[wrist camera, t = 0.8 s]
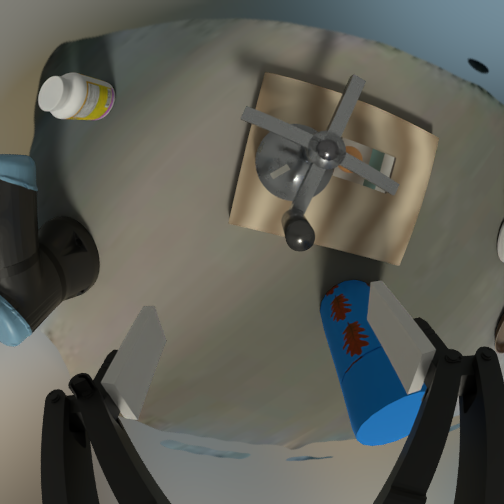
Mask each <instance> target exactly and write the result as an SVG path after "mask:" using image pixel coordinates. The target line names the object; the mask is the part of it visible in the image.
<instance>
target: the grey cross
mask: <svg viewBox="0 0 504 504" xmlns="http://www.w3.org/2000/svg"><path fill="white" fill-rule="evenodd" d="M365 82H366V81H365V80H363V79H361V78H360V77H358V76H356V75H354V74H353V75H352V76H351V77H350V78H349V81H348V83H347V85H346V87H345V90H344V92H343V94H342V96H341V98H340V101H339V103H338V105H337V107H336V109H335V112H334V114H333V116H332V118H331V120H330V122H329V125H328V127H327V129H326V131H320V132H318V131H316V130H315V129H313V128H311V127H308V126H306V125H301V124H289V123H286V122H284V121H282V120H280V119H277V118H275V117H273V116H270V115H268V114H265V113H263V112H261V111H258V110H256V109H253V108H251V107H248V106H246V108H245V110H244V112H243V114H242V117H241V120H243V121H245V122H248V123H250V124H253V125H255V126H258V127H260V128H262V129H265V130H267V131H269V133H268V134H267V135H266V136H265V137H264V138H263V140H262V141H261V143H260V145H259V147H258V149H257V152H256V158H255V165H256V171H257V174H258V177H259V179H260V181H261V183H262V184H263V186H264V187H265V188H266V189H267V190H268V191H269V192H270V193H271V194H273V195H275V196H276V197H278V198H280V199H284V200H287V201H292V204H291V206H290V208H289V210H287V211H286V212H285V213H284V214H283V216H282V218H281V224H282V227H283V231H284V234H285V238H286V242H287V244H288V246H289V247H290V248H291V249H293V250H295V251H305V250H307V249H309V248H310V247H311V246H312V245H313V243H314V241H315V232H314V230H313V228H312V227H311V225H310V223H309V222H308V220H307V219H306V217H305V216H304V214H305V212H306V210H307V208H308V206H309V204H310V202H311V199H312V197H314V196H316V195H317V194H319V193H320V192H321V191H322V190H323V189H324V188H325V187H326V186H327V184H328V183H329V181H330V179H331V177H332V174H333V169H334V168H336V167H337V166H339V165H340V166H342V167H344V168H346V169H348V170H349V171H351V172H353V173H355V174H357V175H358V176H360V177H362V178H364V179H365V180H367V181H369V182H371V183H372V184H374V185H376V186H377V187H379V188H381V189H382V190H384V191H386V192H387V193H389V194H391V195H393V196H394V195H395V193H396V191H397V189H398V187H399V185H400V184H398V183H397V182H395V181H394V180H392V179H390V178H389V177H387V176H386V175H384V174H382V173H381V172H379V171H378V170H376V169H374V168H373V167H371V166H369V165H368V164H366V163H364V162H362V161H361V160H359V159H357V158H355V157H354V156H352V155H350V154H348V153H347V152H346V147H345V143H344V141H343V140H342V138H341V136H342V134H343V131H344V129H345V127H346V125H347V123H348V120H349V118H350V116H351V114H352V112H353V109H354V107H355V105H356V103H357V100H358V98H359V96H360V94H361V91H362V89H363V87H364V84H365Z"/></svg>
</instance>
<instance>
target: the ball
mask: <svg viewBox="0 0 504 504" xmlns="http://www.w3.org/2000/svg"><path fill="white" fill-rule="evenodd" d="M345 147H346V152H347V153H348V154H350V155H352V156H354V157H355V158H357V159H359V160H361V161H362V162H363V158H362V155H361V153H360V151H359V150H358V149H356V148H355V147H352V146H345ZM338 167H339V168H340V169H341V170H342V171H344V172H346V173H353V172H351V171H349V170H348V169H346V168H344V167H342V166H340V165H339V166H338Z"/></svg>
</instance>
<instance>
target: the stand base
mask: <svg viewBox="0 0 504 504" xmlns="http://www.w3.org/2000/svg"><path fill="white" fill-rule="evenodd" d="M341 96H342V94H341V93H338V92H335V91H332V90H329V89H326V88H323V87H320V86H317V85H314V84H310V83H307V82H303V81H300V80H296V79H293V78H289V77H285V76H281V75H277V74H272V73H268V72H265V75H264V78H263V82H262V86H261V90H260V94H259V97H258V101H257V105H256V110H258V111H261V112H263V113H265V114H268V115H270V116H273V117H275V118H277V119H280V120H282V121H284V122H286V123H289V124H301V125H306V126H308V127H311V128H313V129H315V130H316V131H318V132H320V131H326V129H327V127H328V125H329V122H330V120H331V118H332V116H333V114H334V112H335V109H336V107H337V105H338V103H339V101H340V98H341ZM268 133H269V131H267V130H265V129H262V128H260V127H258V126H255V125H253V124H252V125H251V129H250V133H249V137H248V141H247V145H246V149H245V153H244V158H243V162H242V166H241V170H240V175H239V179H238V183H237V188H236V192H235V196H234V201H233V205H232V210H231V214H230V219H229V223H228V224H233V225H237V226H242V227H246V228H250V229H254V230H259V231H263V232H267V233H271V234H276V235H280V236H284V237H285V234H284V231H283V227H282V224H281V218H282V216H283V214H284V213H285V212H286V211H287V210H289V208H290V206H291V204H292V201H287V200H284V199H280V198H278V197H276V196H275V195H273V194H271V193H270V192H269V191H268V190H267V189H266V188H265V187H264V186H263V184H262V183H261V181H260V179H259V177H258V174H257V171H256V165H255V158H256V152H257V149H258V147H259V145H260V143H261V141H262V140H263V138H264V137H265V136H266V135H267V134H268ZM341 138H342V140H343V141H344V143H345V146H352V147H355V148H356V149H358V150H359V151H360V153H361V155H362V158H363V162H364V163H366V164H368V165H369V166H371V167H373V168H374V169H376V170H378V171H379V172H381V173H382V174H384V175H386V176H387V177H389V178H390V179H392V180H394V181H395V182H397V183H398V184H400V185H399V187H398V189H397V191H396V193H395V195H394V196H393V195H391V194H389V193H387V192H386V191H384V190H382V189H381V188H379V187H377V186H376V185H374V184H372V183H371V182H369V181H367V180H365V179H364V178H362V177H360V176H358V175H357V174H355V173H346V172H344V171H342V170H341V169H340V168H339V167H338V166H337V167H336V168H334V169H333V174H332V177H331V179H330V181H329V183H328V184H327V186H326V187H325V188H324V189H323V190H322V191H321V192H320V193H319V194H317V195H316V196H314V197H312V199H311V202H310V204H309V206H308V208H307V210H306V212H305V214H304V216H305V217H306V219H307V220H308V222H309V223H310V225H311V227H312V228H313V230H314V232H315V241H314V243H313V244H317V245H321V246H325V247H329V248H333V249H337V250H340V251H344V252H348V253H352V254H356V255H360V256H364V257H368V258H371V259H375V260H379V261H383V262H387V263H390V264H394V265H398V266H399V265H400V263H401V260H402V258H403V255H404V253H405V250H406V247H407V245H408V242H409V240H410V237H411V234H412V231H413V228H414V226H415V223H416V220H417V217H418V214H419V211H420V208H421V205H422V201H423V198H424V195H425V192H426V188H427V185H428V181H429V177H430V174H431V170H432V166H433V162H434V158H435V154H436V149H437V145H438V140H439V138H438V137H436V136H434V135H432V134H431V133H429V132H427V131H425V130H423V129H421V128H419V127H417V126H415V125H414V124H412V123H410V122H408V121H405V120H403V119H401V118H399V117H397V116H395V115H393V114H391V113H388V112H386V111H384V110H382V109H379V108H377V107H375V106H372V105H370V104H367V103H365V102H362V101H360V100H357V103H356V105H355V107H354V109H353V112H352V114H351V116H350V118H349V120H348V123H347V125H346V127H345V129H344V131H343V134H342V136H341Z"/></svg>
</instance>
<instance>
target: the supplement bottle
mask: <svg viewBox="0 0 504 504" xmlns="http://www.w3.org/2000/svg"><path fill="white" fill-rule="evenodd" d="M38 102H39V106H40V108H41V109H42V110H44V111H50V112H51V114H52V115H53V116H54V117H56V118H59V119H78V120H99V119H101V118H103V117H105V116H106V115H107V114H108V113H109V112H110V110H111V109H112V107H113V105H114V102H115V91H114V89H113V87H112V85H110V84H109V83H107V82H105V81H102V80H99V79H95V78H92V77H89V76H85V75H82V74H79V73H67V74H65V75H63V76H52V77H50V78H49V79H47V80H46V81H45V83H44V84H43V86H42V87H41V90H40V92H39V97H38Z"/></svg>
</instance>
